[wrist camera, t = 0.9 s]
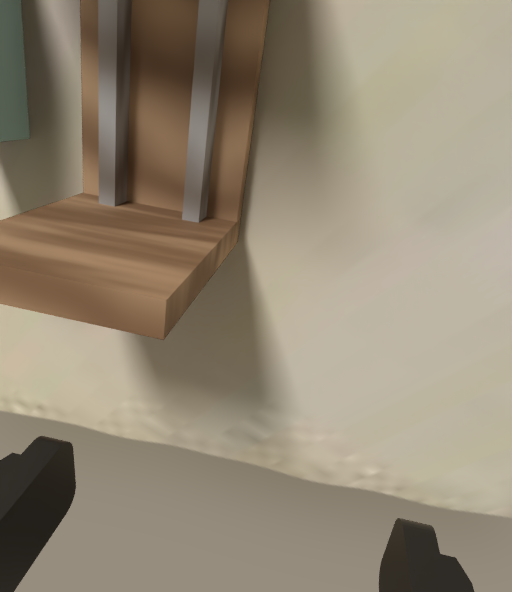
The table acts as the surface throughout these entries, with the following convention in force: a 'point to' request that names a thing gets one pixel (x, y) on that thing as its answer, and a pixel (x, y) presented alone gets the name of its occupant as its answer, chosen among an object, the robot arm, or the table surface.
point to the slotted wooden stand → (146, 166)
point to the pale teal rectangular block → (12, 74)
